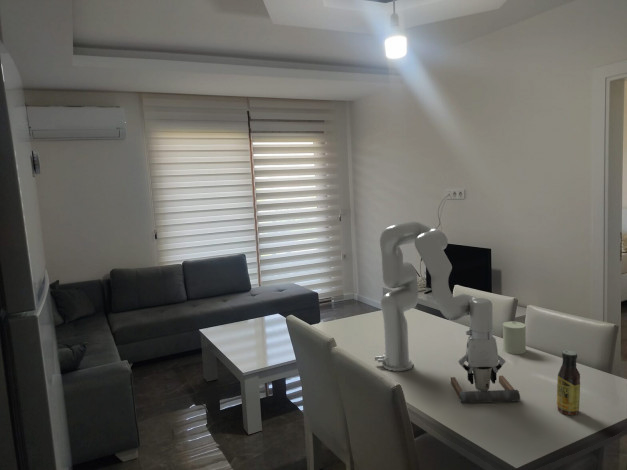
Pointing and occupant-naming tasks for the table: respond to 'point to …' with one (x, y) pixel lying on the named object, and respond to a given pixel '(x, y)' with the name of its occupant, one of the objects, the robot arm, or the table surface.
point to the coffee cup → (482, 378)
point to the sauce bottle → (568, 385)
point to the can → (514, 337)
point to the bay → (487, 393)
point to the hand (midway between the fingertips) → (482, 381)
